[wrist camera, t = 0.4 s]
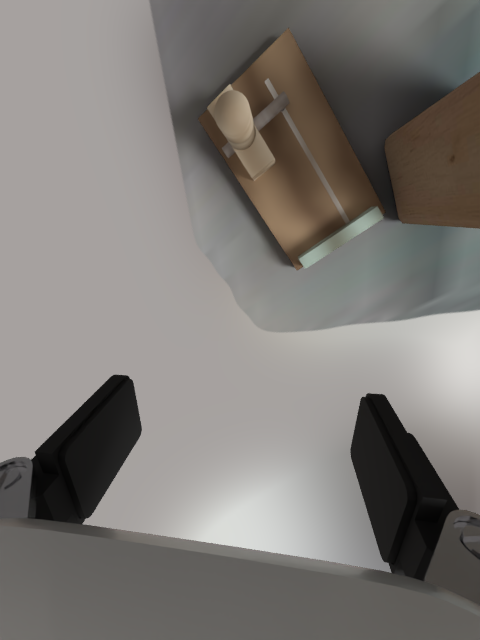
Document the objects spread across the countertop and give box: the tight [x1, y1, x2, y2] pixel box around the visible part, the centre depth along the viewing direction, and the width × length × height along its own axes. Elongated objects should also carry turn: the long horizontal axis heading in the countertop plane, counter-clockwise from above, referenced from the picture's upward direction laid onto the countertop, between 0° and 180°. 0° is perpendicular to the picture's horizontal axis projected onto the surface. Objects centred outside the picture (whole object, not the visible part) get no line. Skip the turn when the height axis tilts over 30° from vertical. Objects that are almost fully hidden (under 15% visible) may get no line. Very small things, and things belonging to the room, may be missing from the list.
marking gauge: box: [207, 84, 290, 181], centre depth 25 cm, size 8×8×9 cm
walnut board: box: [198, 28, 386, 270], centre depth 30 cm, size 12×21×4 cm, turn 36°
